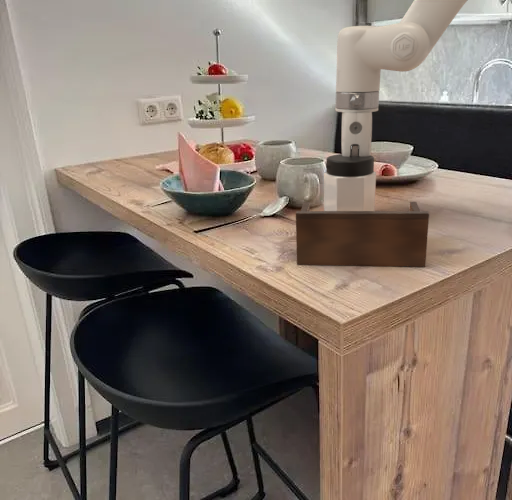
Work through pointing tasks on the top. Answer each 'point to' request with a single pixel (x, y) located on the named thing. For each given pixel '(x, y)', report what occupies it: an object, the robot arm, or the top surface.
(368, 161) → the jar
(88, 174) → the top surface
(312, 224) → the brown wooden tray
